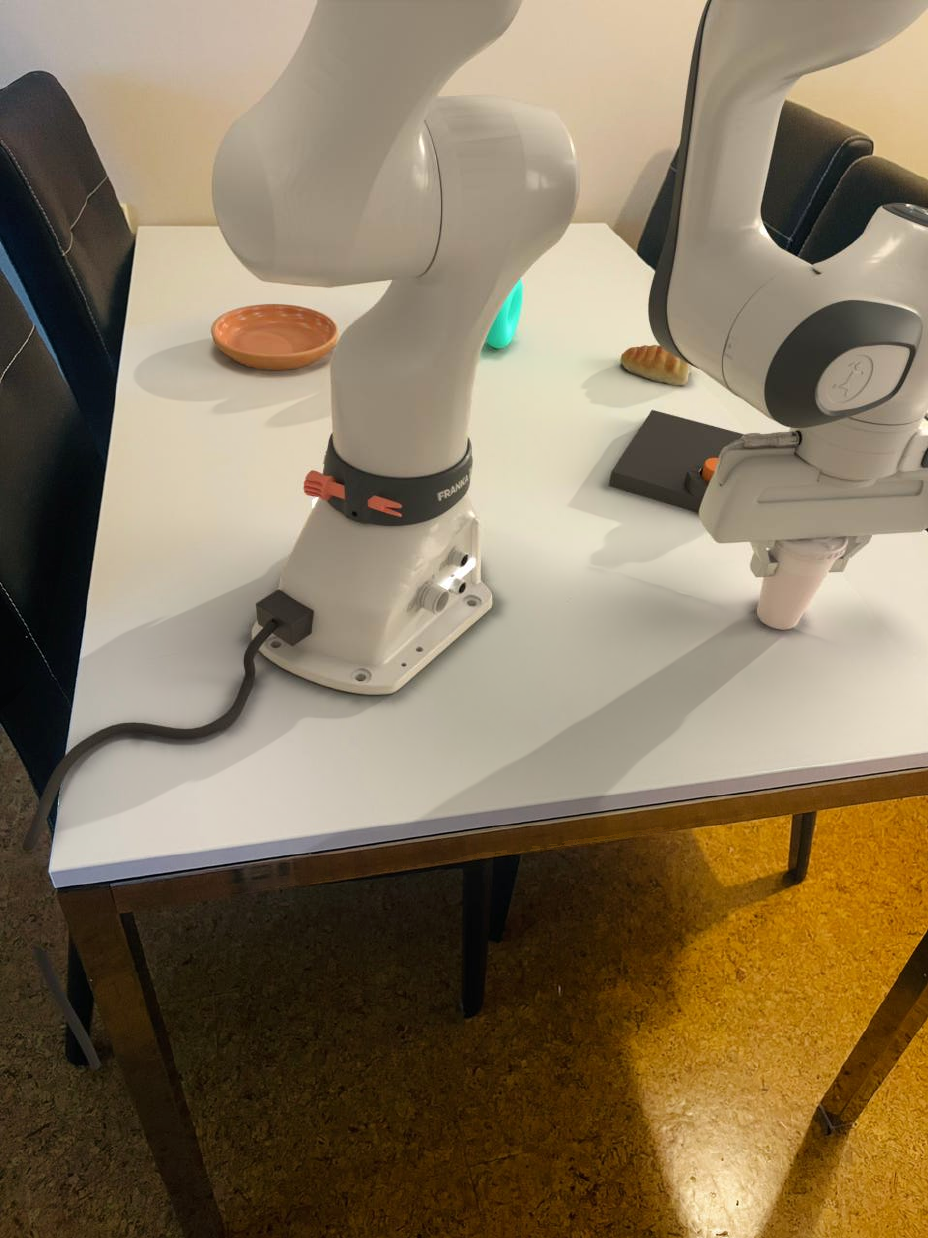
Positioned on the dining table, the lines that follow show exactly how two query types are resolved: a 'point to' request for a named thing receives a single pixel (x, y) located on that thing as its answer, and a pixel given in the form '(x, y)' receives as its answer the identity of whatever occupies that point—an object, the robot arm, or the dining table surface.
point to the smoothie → (796, 578)
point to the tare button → (709, 468)
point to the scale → (670, 459)
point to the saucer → (274, 335)
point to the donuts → (506, 319)
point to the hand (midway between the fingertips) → (796, 570)
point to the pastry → (656, 364)
